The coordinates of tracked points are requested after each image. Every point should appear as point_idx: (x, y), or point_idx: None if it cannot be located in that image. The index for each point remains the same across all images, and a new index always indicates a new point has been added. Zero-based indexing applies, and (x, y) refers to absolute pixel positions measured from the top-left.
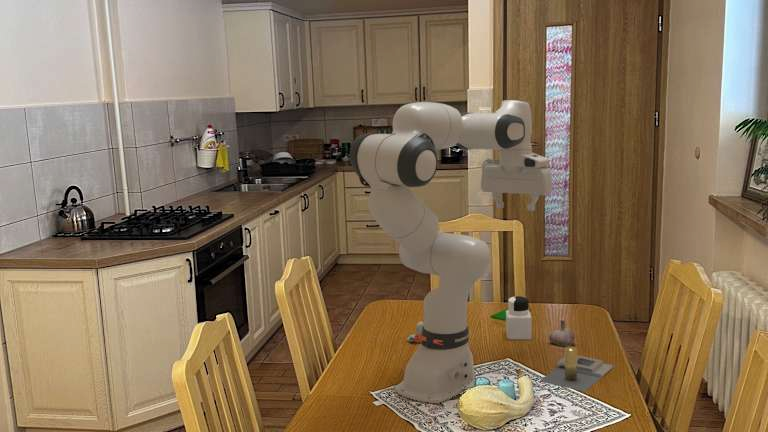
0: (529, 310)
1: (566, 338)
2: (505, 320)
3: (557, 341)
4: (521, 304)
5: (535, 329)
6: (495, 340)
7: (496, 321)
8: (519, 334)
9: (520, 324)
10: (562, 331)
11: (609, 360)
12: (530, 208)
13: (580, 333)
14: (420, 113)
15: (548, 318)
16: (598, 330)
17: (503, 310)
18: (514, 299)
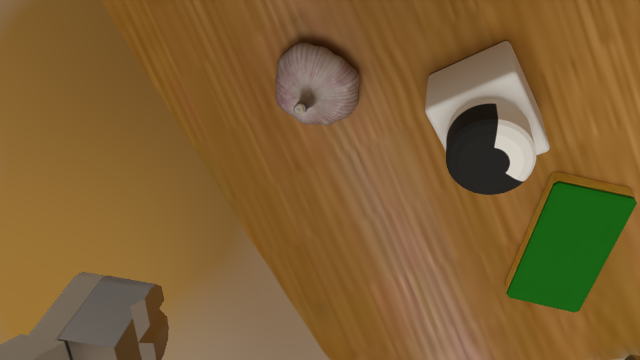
0: (511, 287)
1: (286, 61)
2: (565, 182)
3: (315, 46)
4: (463, 124)
5: None
6: (551, 12)
7: (603, 184)
8: (466, 64)
9: (464, 81)
10: (304, 86)
11: (143, 7)
12: (86, 294)
13: (309, 188)
14: None
15: (445, 273)
16: (275, 227)
17: (601, 263)
18: (501, 140)
